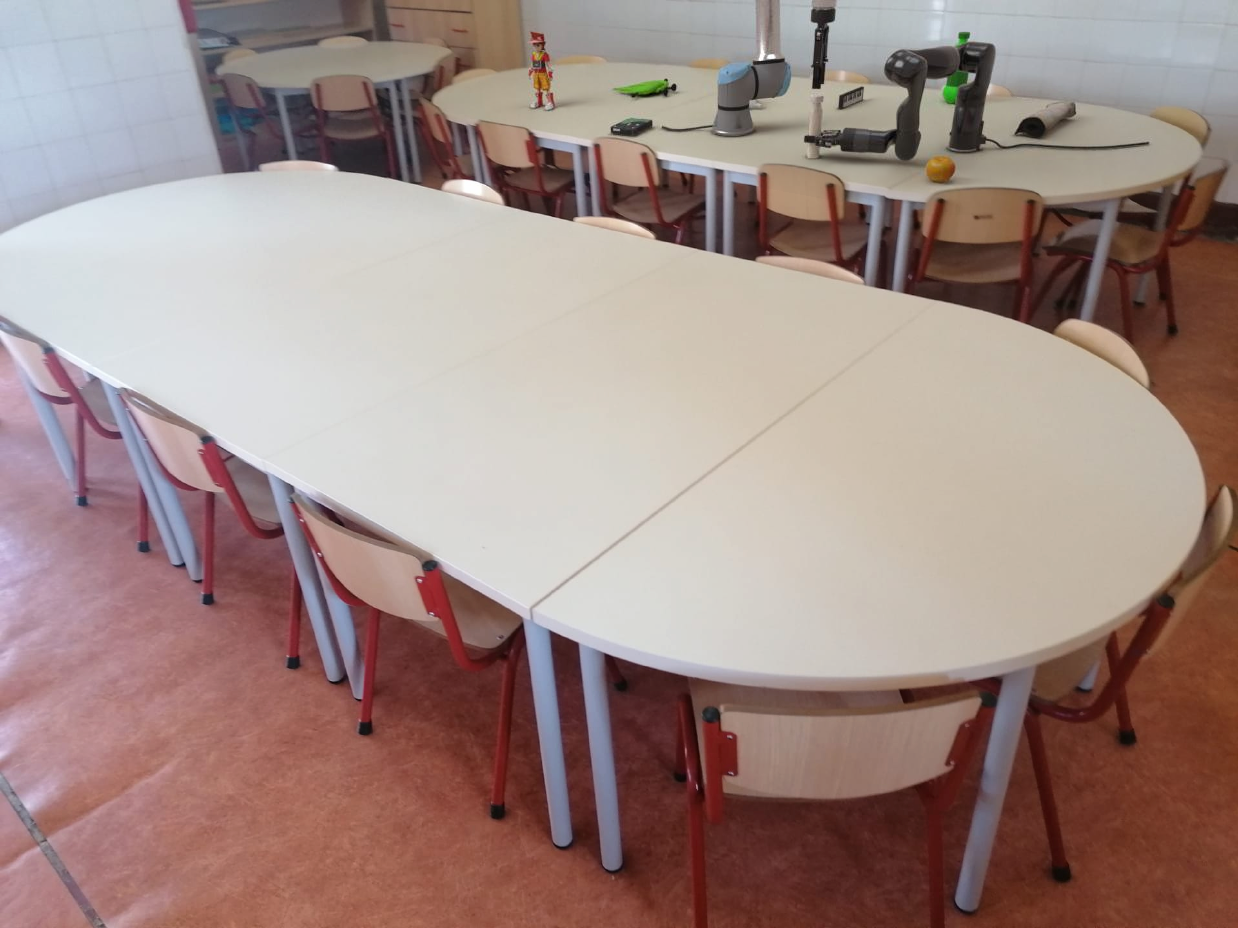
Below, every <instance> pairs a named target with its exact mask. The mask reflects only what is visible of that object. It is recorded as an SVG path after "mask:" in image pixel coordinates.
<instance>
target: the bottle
mask: <svg viewBox="0 0 1238 928" xmlns="http://www.w3.org/2000/svg"><path fill="white" fill-rule="evenodd" d="M823 111H824V110H823V106H822V103H812V104H811V107H810V110H809V118H808V119H809V121H808V133H809V134H808V133H807V135H809V136H821V131H822V126H823V113H824V112H823ZM819 142H821V141H820V140H819ZM820 151H821V147H820V146H815V143H807V152H806V158H807V159H811V160H812V159H818V158H820V153H821V152H820Z"/></svg>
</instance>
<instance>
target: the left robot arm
mask: <svg viewBox="0 0 1238 928" xmlns="http://www.w3.org/2000/svg"><path fill="white" fill-rule="evenodd" d="M837 1H838V0H811V10H810V22H812V23H813V24H817V25H816V28H815V29H814V43H813V54H812V56H813V57H812V64H811V65H810V68H812V83H811V89H812V90H821V89H822V85H825V76H826V66H827V65H826V64H827V63H829V58H828V48H829V47H828V45H829V33H830V25H828V24H830V23H833V22H835V21H836V12H837V9H836V8H835V7H836V6H837V3H838V2H837ZM755 36H756V37H755V39H756V55H755V57H754V58H752V65H751V63H750V62H749V61H735V62H731V63H727V64H724V65H723V66H722V67H720V68H719V70H718V75H717V82H716V83H717V111H716V114H715V118H714V120H713V124H710V125H709V124H708V125H700V126H695V127H686V128H671V127H667V126H664V125H662V126H661V129H664V130H668V131H671V132H687V131H694V130H701V129H709V128H712V133H713V134H715V135H717V136H721V137H741V136H746V135H750V134H752V133H754V127H755V123H754V121H753V118H752V115H751V111H750V109H749V101H750V100H757V101H758V100H765V99H775V98H780V97H783V96H784V95H786V94H787V92H788V90H789V88H790V85H791V81H792V69H791V65H790V63H789V62H788V61H786V57H785V56H784V54H783V53H782V52H781V49H782V47H781V0H755Z"/></svg>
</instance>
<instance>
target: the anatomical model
mask: <svg viewBox="0 0 1238 928" xmlns="http://www.w3.org/2000/svg"><path fill="white" fill-rule="evenodd" d="M757 101H758V99H757V100H750V101H749V110H751V109H755V108H762V107H763V104H762V103H758V102H757Z"/></svg>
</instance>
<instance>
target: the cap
mask: <svg viewBox="0 0 1238 928" xmlns="http://www.w3.org/2000/svg"><path fill="white" fill-rule="evenodd" d="M824 98H825V97H824V94H823V93H814V94H813V93H812V94H811V95H810V103H812V104H813V103H821V104H822V103H824Z"/></svg>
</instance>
